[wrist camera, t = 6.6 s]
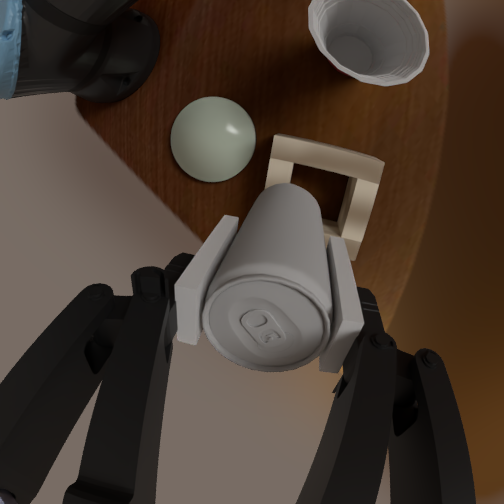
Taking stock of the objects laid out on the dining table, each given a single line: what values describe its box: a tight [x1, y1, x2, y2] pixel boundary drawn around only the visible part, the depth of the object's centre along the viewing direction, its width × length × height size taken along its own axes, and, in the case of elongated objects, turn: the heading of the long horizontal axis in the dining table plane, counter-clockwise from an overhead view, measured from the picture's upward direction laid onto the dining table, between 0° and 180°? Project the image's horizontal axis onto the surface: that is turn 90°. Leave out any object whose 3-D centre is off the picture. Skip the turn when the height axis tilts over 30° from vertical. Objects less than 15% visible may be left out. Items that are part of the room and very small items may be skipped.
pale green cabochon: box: [171, 97, 256, 182], centre depth 33 cm, size 11×11×1 cm
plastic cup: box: [308, 0, 429, 86], centre depth 20 cm, size 11×11×12 cm
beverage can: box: [202, 183, 333, 372], centre depth 15 cm, size 5×5×12 cm
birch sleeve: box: [265, 133, 384, 261], centre depth 32 cm, size 12×12×5 cm
